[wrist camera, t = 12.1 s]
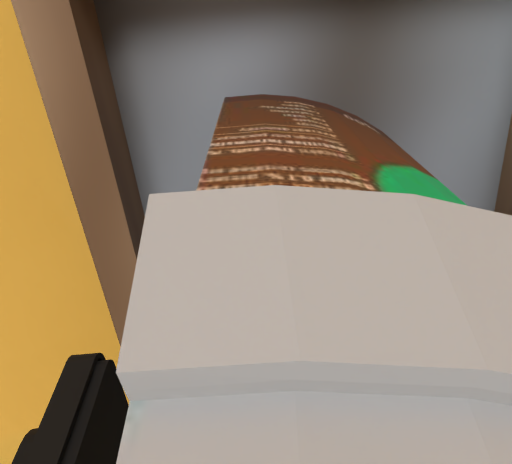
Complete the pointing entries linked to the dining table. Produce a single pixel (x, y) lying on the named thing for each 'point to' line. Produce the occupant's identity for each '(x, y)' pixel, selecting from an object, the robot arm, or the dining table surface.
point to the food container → (317, 304)
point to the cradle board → (260, 82)
